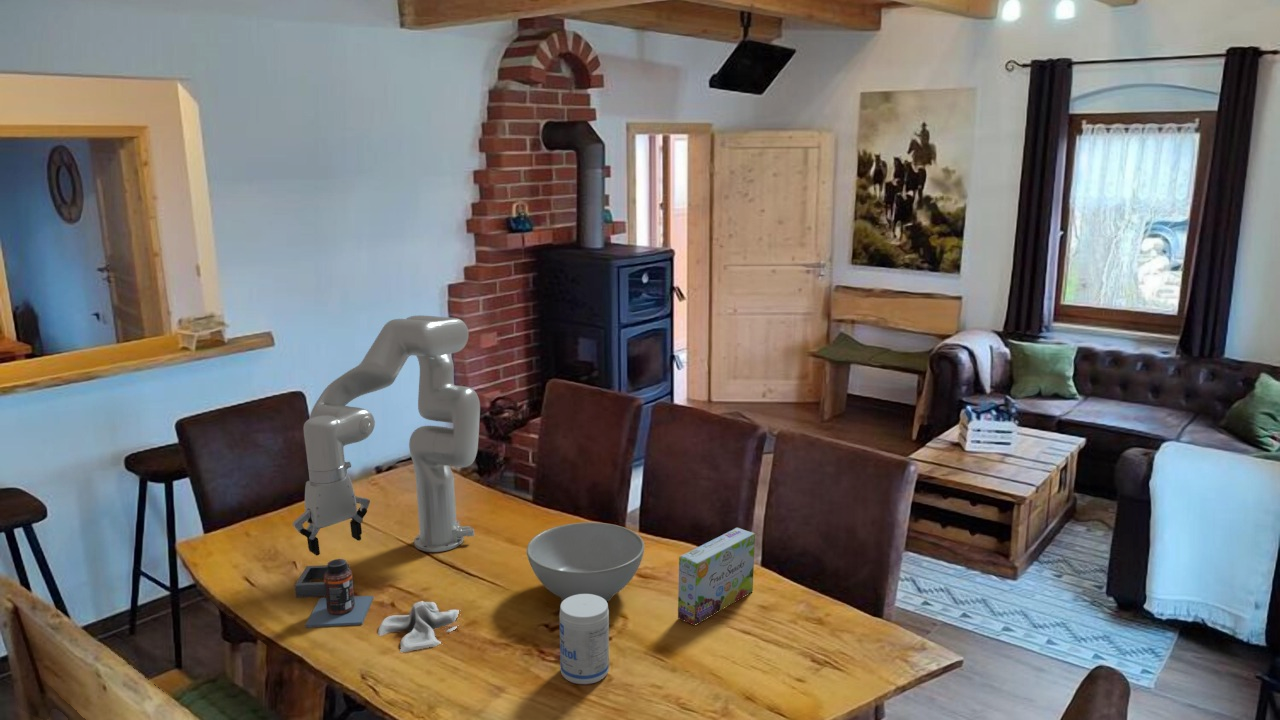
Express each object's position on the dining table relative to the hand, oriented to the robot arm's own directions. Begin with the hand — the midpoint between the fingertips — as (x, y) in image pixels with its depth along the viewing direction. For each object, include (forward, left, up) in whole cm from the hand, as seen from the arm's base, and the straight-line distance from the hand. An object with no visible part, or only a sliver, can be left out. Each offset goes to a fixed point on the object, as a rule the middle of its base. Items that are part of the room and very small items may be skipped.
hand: (336, 545), depth 200 cm
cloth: (-20, +8, -17) cm, 27 cm away
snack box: (-84, +6, -16) cm, 85 cm away
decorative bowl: (-55, -2, -16) cm, 57 cm away
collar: (+7, -12, -16) cm, 21 cm away
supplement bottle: (0, 0, -15) cm, 15 cm away
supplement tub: (-54, +30, -16) cm, 63 cm away
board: (0, +1, -16) cm, 16 cm away
